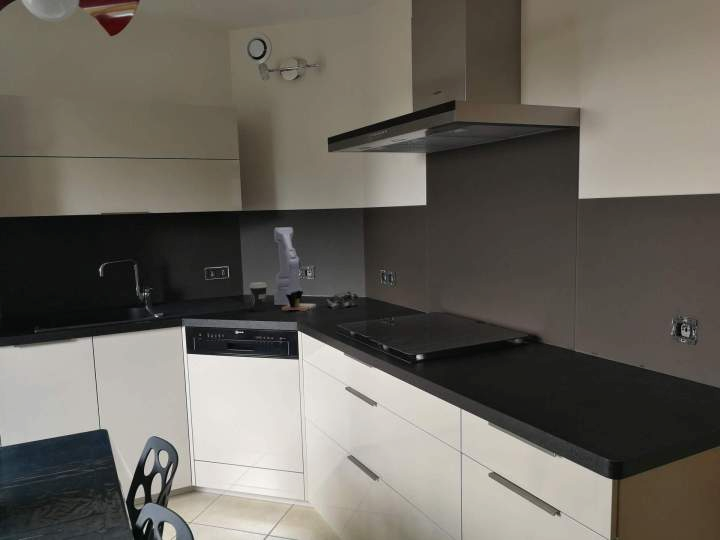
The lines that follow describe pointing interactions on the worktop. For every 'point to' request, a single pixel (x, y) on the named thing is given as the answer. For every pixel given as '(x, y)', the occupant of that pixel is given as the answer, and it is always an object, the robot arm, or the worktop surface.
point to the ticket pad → (307, 305)
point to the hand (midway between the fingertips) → (295, 305)
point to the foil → (342, 300)
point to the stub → (296, 306)
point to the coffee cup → (258, 296)
